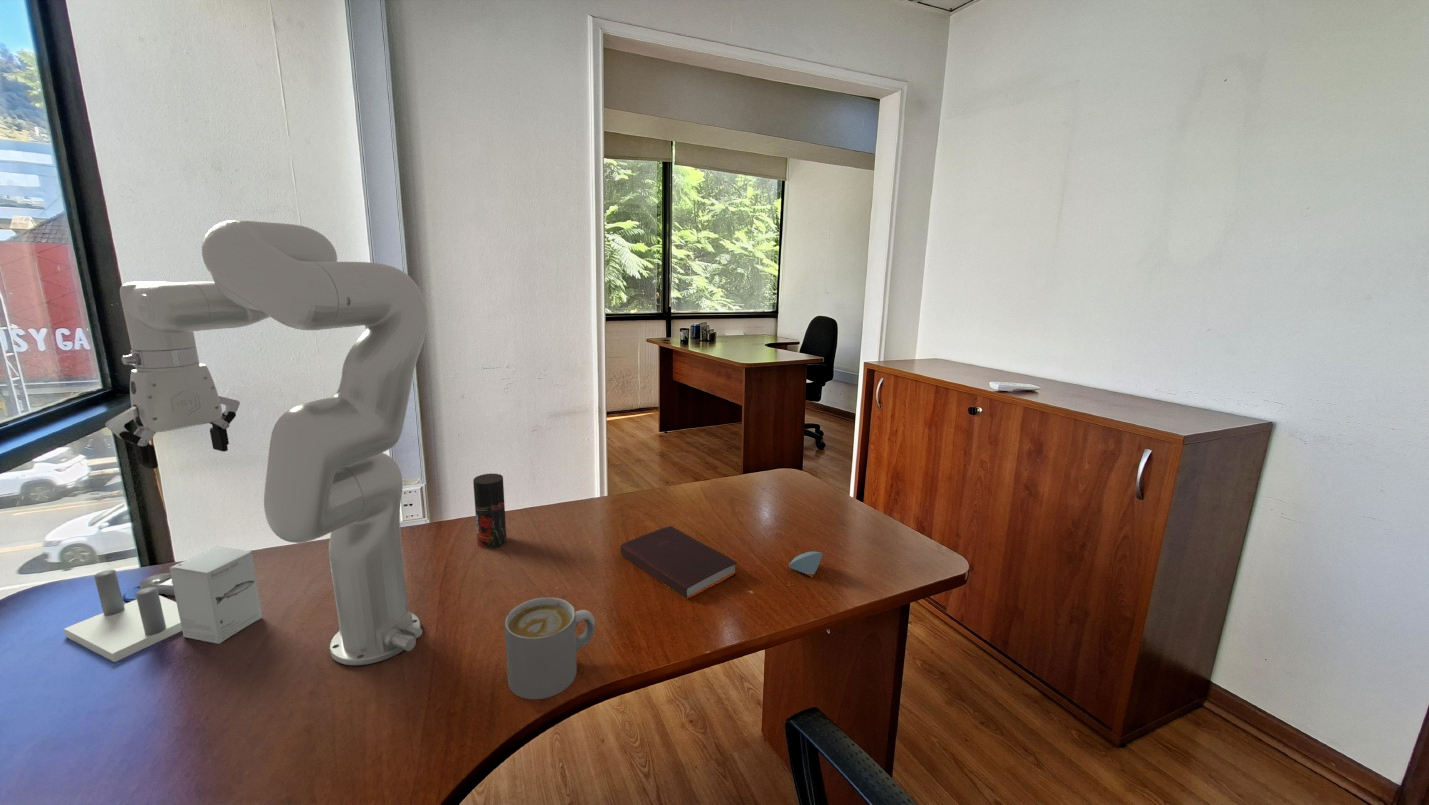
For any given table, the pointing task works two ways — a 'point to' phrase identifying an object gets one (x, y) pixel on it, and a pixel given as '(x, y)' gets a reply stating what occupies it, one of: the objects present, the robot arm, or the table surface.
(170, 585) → the bar
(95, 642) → the cradle
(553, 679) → the coffee mug
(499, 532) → the deodorant
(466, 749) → the table surface
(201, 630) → the supplement box
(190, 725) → the table surface
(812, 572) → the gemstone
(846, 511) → the table surface
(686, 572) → the book
